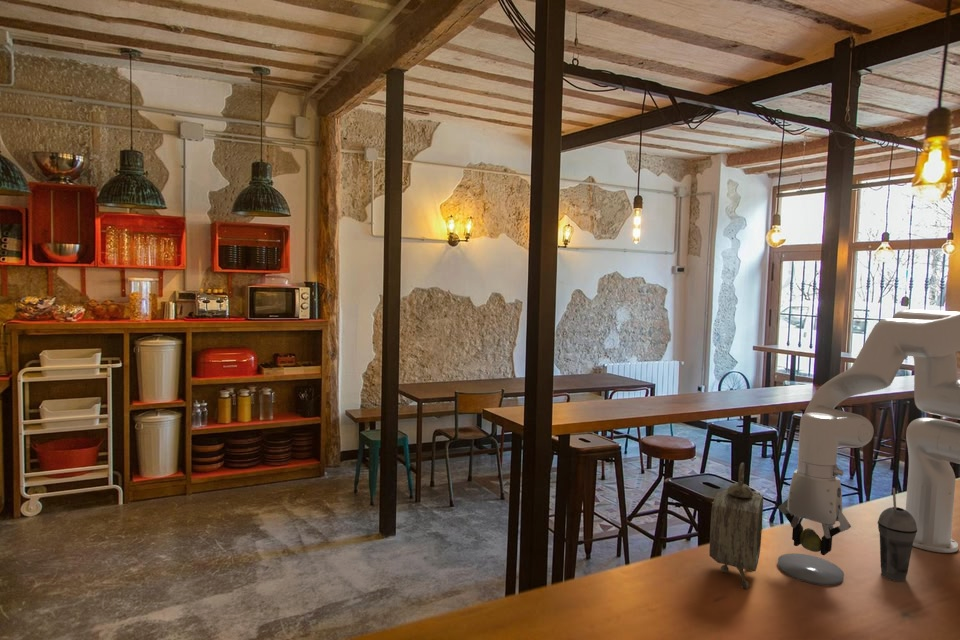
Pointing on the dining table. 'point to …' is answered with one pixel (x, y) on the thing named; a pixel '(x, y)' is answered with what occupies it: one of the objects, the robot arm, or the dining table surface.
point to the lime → (810, 540)
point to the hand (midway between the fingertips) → (811, 548)
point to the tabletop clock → (736, 527)
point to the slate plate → (810, 569)
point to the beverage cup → (896, 541)
